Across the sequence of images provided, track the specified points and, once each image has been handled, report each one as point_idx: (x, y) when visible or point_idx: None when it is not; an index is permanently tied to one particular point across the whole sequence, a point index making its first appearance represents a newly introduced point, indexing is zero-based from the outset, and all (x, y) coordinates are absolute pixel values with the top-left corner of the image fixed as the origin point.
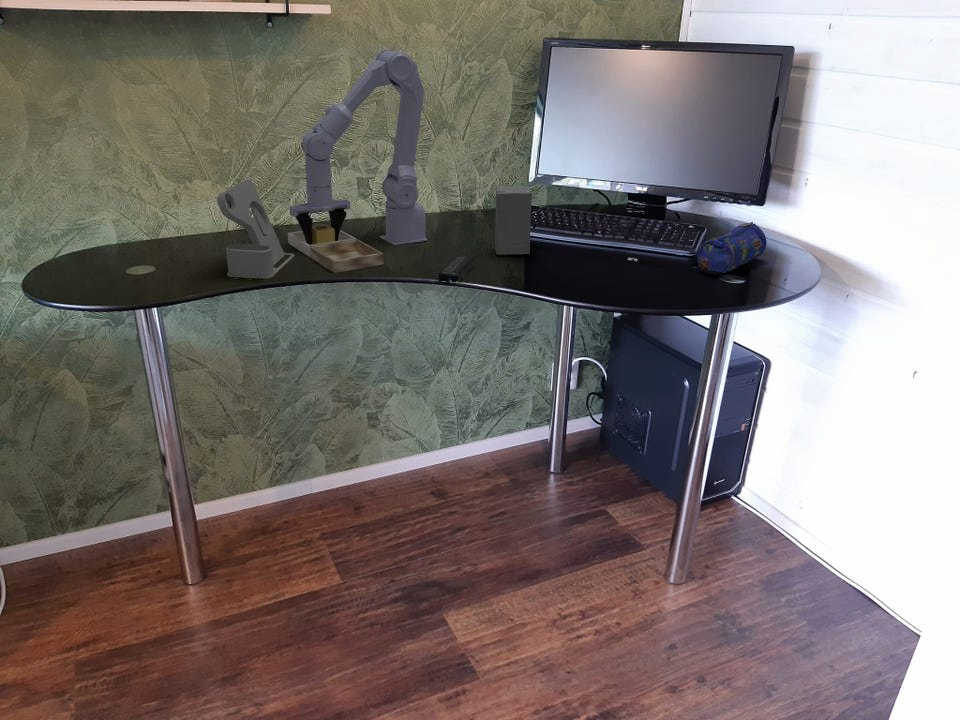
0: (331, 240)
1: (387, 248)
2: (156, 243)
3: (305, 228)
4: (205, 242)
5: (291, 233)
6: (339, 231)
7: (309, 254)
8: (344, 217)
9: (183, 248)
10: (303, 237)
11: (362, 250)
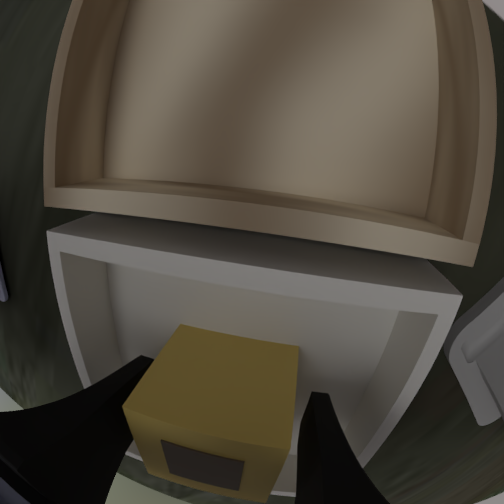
0: (185, 356)
1: (9, 174)
2: (481, 495)
3: (370, 489)
4: (444, 497)
5: None
6: (100, 381)
7: (434, 267)
8: (7, 415)
9: (493, 476)
10: None
11: (93, 108)
